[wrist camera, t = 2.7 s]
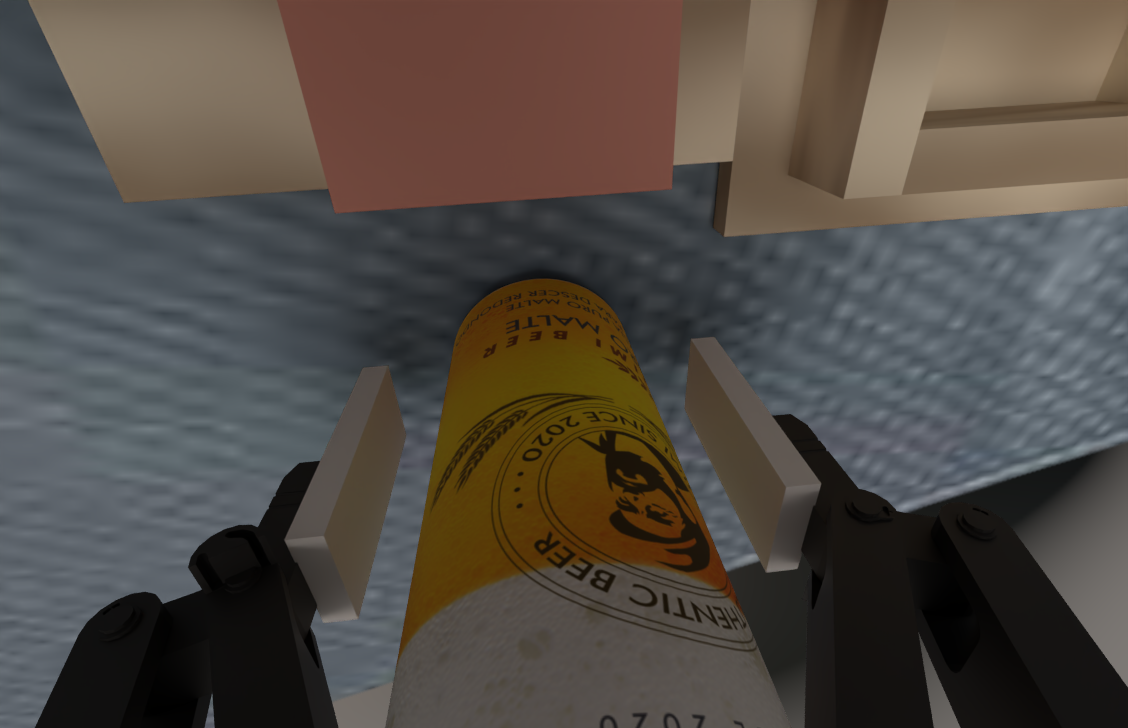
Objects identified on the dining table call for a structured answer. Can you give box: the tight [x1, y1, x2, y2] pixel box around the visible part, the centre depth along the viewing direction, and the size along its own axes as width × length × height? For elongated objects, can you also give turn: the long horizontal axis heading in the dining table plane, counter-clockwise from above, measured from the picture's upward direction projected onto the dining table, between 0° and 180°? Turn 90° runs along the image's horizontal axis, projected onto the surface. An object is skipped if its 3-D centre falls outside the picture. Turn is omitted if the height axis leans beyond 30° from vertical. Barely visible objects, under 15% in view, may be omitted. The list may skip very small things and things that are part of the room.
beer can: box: [385, 279, 791, 728], centre depth 13 cm, size 6×6×15 cm
